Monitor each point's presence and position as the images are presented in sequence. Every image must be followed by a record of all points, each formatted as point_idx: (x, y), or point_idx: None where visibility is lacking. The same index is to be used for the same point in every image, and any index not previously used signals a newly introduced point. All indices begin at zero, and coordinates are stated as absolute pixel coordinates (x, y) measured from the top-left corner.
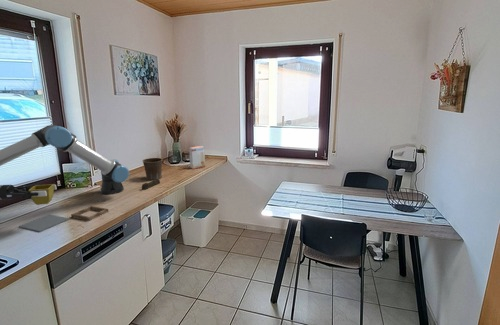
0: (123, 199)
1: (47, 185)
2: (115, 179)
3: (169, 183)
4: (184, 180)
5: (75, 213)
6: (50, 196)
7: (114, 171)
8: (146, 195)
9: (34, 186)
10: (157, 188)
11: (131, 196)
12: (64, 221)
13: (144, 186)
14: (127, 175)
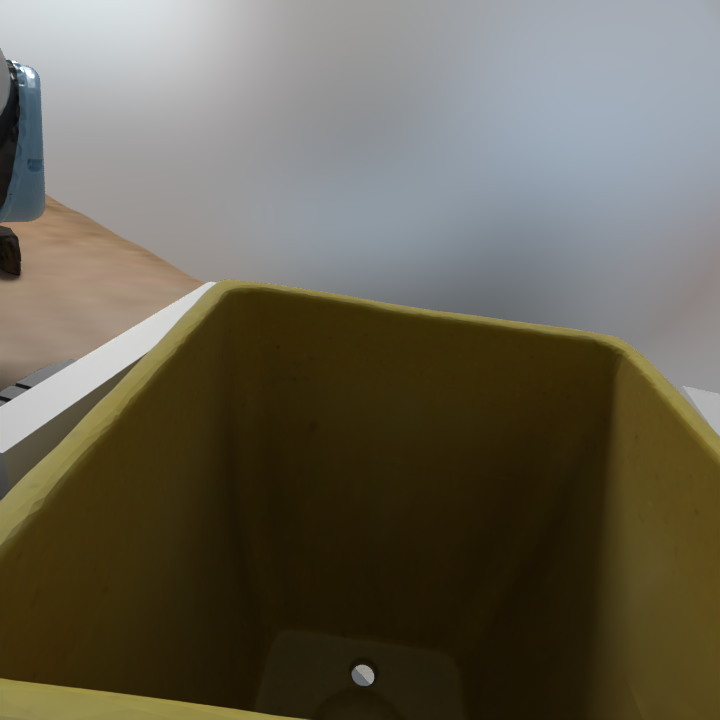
0: (103, 340)
1: (193, 352)
2: (44, 192)
3: (34, 221)
4: (53, 200)
5: None
6: (446, 511)
7: (37, 111)
8: (138, 284)
9: (60, 686)
10: (63, 248)
11: (83, 313)
12: (361, 682)
13: (19, 247)
14: (43, 159)
